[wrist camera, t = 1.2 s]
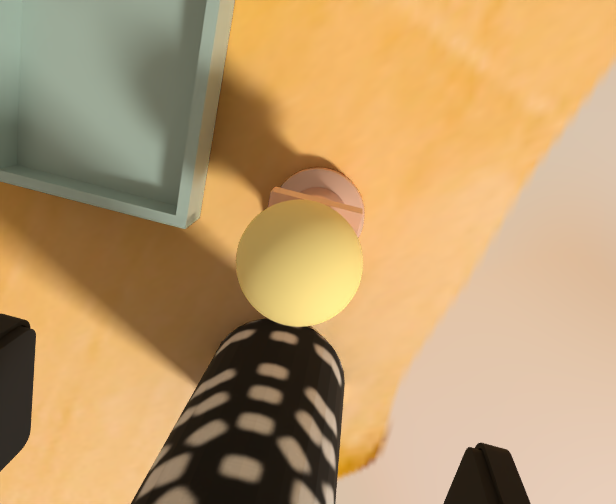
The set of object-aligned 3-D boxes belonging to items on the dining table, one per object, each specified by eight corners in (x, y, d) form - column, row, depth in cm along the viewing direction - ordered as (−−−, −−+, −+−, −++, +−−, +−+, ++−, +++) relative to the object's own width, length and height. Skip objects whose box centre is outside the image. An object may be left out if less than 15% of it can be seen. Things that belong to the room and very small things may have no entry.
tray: (25, -162, 23) (-11, -188, 21) (252, -109, 23) (239, -130, 21) (15, 170, 29) (-15, 177, 26) (199, 217, 28) (185, 229, 26)
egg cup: (284, 157, 27) (262, 176, 21) (375, 180, 26) (377, 206, 21) (265, 243, 28) (240, 282, 23) (351, 265, 28) (347, 310, 23)
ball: (263, 175, 21) (233, 201, 17) (377, 204, 21) (379, 238, 16) (242, 280, 23) (209, 330, 18) (347, 307, 23) (342, 365, 18)
